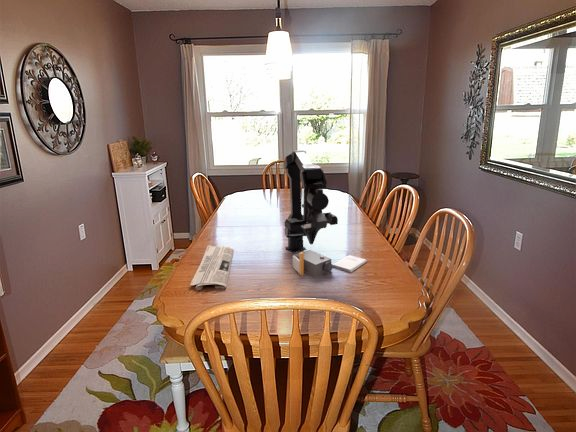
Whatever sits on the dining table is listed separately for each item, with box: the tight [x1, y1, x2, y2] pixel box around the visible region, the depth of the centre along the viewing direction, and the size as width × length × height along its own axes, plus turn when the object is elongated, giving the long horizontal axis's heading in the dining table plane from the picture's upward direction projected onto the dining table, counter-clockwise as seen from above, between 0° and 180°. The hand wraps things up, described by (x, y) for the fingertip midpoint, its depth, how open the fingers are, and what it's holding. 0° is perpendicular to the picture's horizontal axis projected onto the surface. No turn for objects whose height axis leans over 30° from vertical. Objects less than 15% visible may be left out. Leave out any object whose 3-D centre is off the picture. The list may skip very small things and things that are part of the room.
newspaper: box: [189, 244, 234, 291], centre depth 145 cm, size 35×12×4 cm, turn 3°
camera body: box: [294, 249, 333, 278], centre depth 142 cm, size 14×8×6 cm, turn 38°
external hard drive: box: [332, 254, 368, 273], centre depth 147 cm, size 2×8×12 cm
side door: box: [291, 251, 305, 276], centre depth 140 cm, size 8×1×8 cm, turn 23°
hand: (311, 244), depth 136 cm, fingers closed
